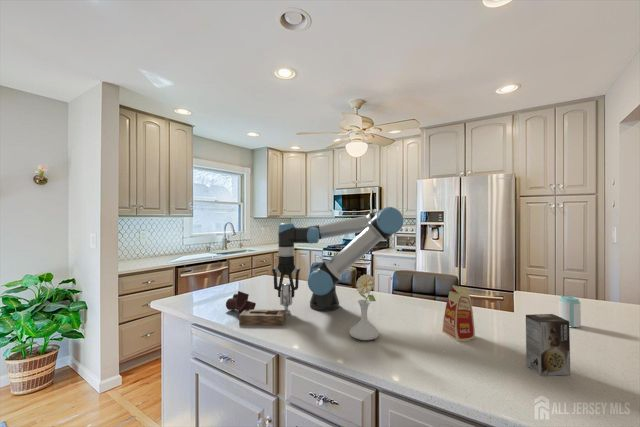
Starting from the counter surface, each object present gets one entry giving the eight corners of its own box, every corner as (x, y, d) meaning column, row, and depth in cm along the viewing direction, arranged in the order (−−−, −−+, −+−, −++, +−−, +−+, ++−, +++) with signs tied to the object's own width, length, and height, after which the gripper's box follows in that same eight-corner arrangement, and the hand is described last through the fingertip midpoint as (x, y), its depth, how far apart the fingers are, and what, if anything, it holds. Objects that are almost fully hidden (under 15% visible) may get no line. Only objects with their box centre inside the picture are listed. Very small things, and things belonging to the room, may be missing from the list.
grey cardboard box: (553, 364, 92) (552, 313, 93) (571, 375, 86) (570, 320, 86) (524, 365, 92) (524, 313, 92) (541, 376, 86) (540, 321, 86)
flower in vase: (344, 333, 117) (344, 270, 117) (369, 329, 121) (369, 269, 121) (360, 347, 104) (360, 277, 105) (387, 342, 108) (387, 275, 109)
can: (557, 321, 130) (557, 294, 130) (578, 324, 126) (578, 296, 127) (560, 326, 124) (560, 298, 124) (582, 329, 120) (582, 300, 120)
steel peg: (291, 312, 142) (291, 283, 142) (289, 315, 138) (289, 285, 138) (282, 312, 142) (282, 283, 142) (281, 314, 138) (281, 285, 138)
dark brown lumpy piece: (245, 311, 132) (250, 289, 137) (222, 313, 141) (228, 292, 146) (255, 314, 136) (259, 292, 141) (233, 315, 146) (237, 295, 150)
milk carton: (457, 341, 109) (457, 288, 109) (441, 332, 118) (440, 282, 118) (477, 338, 112) (477, 286, 112) (459, 329, 120) (459, 281, 121)
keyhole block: (285, 318, 133) (285, 309, 133) (282, 325, 125) (282, 316, 125) (244, 318, 134) (244, 309, 134) (239, 324, 126) (239, 315, 126)
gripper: (304, 254, 144) (304, 301, 144) (270, 254, 145) (270, 301, 144) (303, 256, 136) (303, 306, 136) (266, 256, 137) (266, 306, 137)
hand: (286, 303), depth 140 cm, fingers closed on steel peg, 4 cm apart
